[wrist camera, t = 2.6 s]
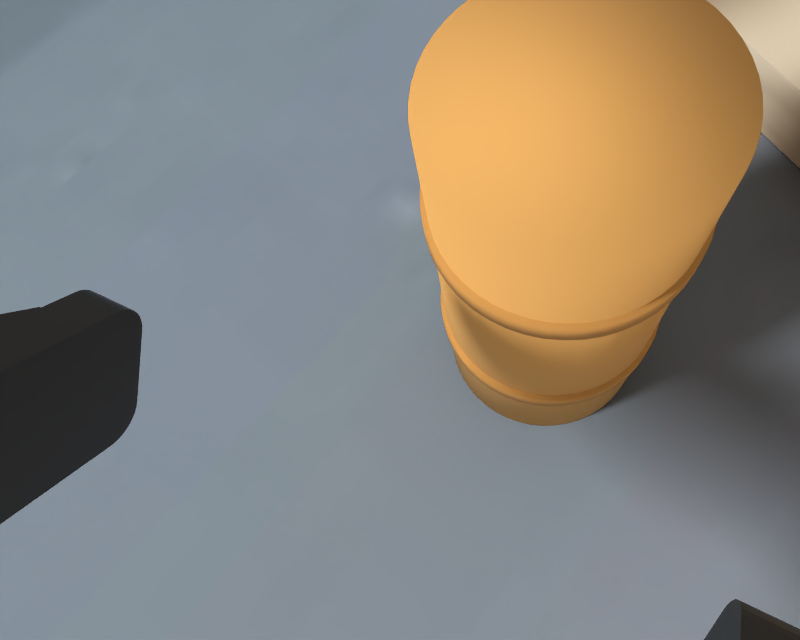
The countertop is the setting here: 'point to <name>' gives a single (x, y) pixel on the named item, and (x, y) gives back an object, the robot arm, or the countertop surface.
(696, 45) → the ringed domed cylinder
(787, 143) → the notched wooden board
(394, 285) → the countertop surface
